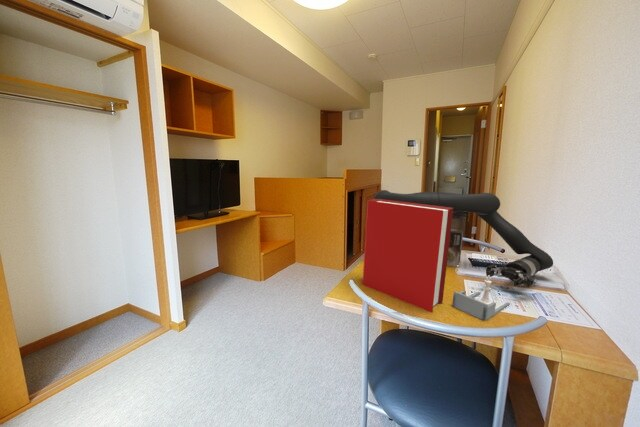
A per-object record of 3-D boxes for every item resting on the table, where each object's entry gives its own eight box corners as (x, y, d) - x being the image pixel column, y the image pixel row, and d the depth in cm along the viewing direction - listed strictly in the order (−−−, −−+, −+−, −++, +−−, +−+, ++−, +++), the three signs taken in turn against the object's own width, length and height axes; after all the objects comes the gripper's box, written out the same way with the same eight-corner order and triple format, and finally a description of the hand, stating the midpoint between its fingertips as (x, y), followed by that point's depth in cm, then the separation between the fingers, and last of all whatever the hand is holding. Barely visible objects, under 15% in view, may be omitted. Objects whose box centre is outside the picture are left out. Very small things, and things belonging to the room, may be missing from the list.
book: (442, 303, 89) (453, 207, 84) (432, 312, 83) (443, 210, 78) (372, 278, 108) (377, 198, 102) (360, 284, 102) (365, 200, 97)
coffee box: (460, 263, 127) (464, 230, 124) (458, 267, 122) (462, 233, 119) (439, 259, 132) (442, 227, 129) (436, 263, 127) (440, 230, 124)
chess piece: (473, 300, 92) (476, 272, 90) (486, 300, 92) (490, 272, 91) (482, 307, 87) (487, 278, 85) (497, 307, 88) (501, 278, 86)
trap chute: (452, 306, 88) (453, 291, 87) (478, 293, 97) (479, 280, 96) (484, 320, 80) (487, 305, 79) (509, 305, 89) (511, 291, 88)
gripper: (500, 255, 108) (481, 262, 99) (544, 266, 97) (527, 275, 88) (498, 273, 110) (478, 281, 101) (541, 286, 98) (523, 297, 89)
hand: (501, 279), depth 94 cm, fingers open, 8 cm apart
